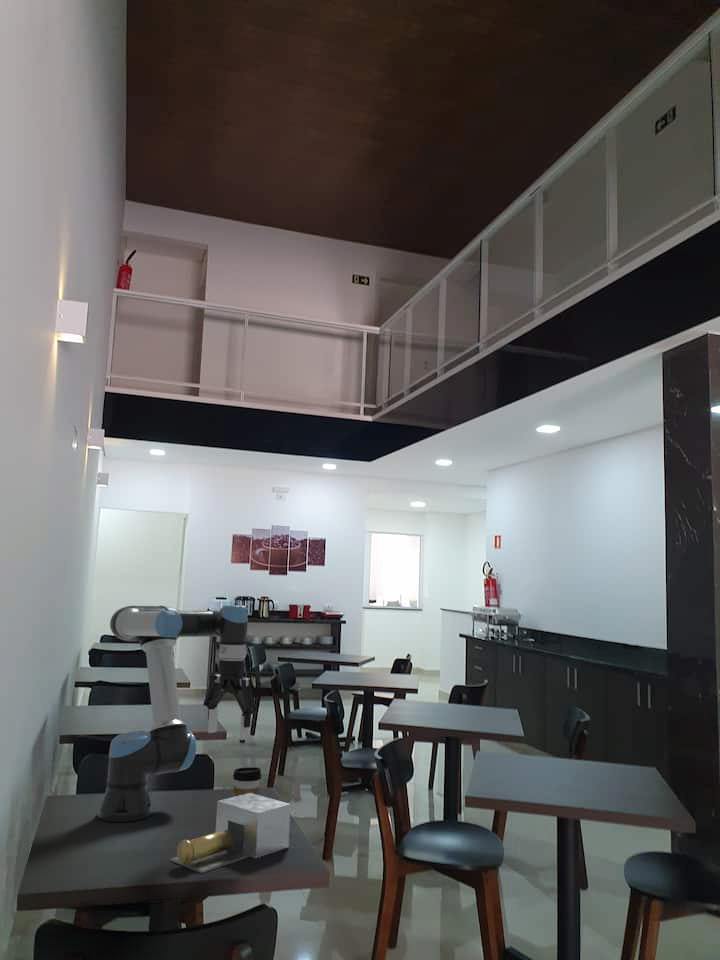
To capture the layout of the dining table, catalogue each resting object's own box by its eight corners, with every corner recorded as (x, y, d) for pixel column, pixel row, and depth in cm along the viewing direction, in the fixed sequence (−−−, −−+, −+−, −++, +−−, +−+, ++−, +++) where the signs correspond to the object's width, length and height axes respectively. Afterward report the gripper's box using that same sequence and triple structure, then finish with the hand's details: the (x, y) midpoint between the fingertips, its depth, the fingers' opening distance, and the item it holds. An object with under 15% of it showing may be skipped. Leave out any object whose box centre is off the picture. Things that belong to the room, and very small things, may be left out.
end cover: (176, 861, 183) (177, 837, 184) (219, 848, 193) (220, 825, 194) (190, 867, 179) (191, 843, 180) (233, 853, 190) (234, 830, 191)
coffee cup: (253, 827, 214) (256, 773, 216) (226, 824, 216) (229, 770, 218) (263, 818, 222) (265, 766, 224) (236, 816, 224) (239, 764, 226)
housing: (165, 859, 186) (168, 813, 188) (248, 833, 208) (250, 792, 210) (206, 875, 176) (209, 826, 178) (288, 847, 198) (290, 804, 200)
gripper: (194, 656, 218) (189, 731, 215) (252, 663, 203) (247, 744, 199) (214, 655, 224) (209, 728, 221) (271, 662, 208) (268, 740, 205)
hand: (227, 735), depth 210 cm, fingers open, 13 cm apart
